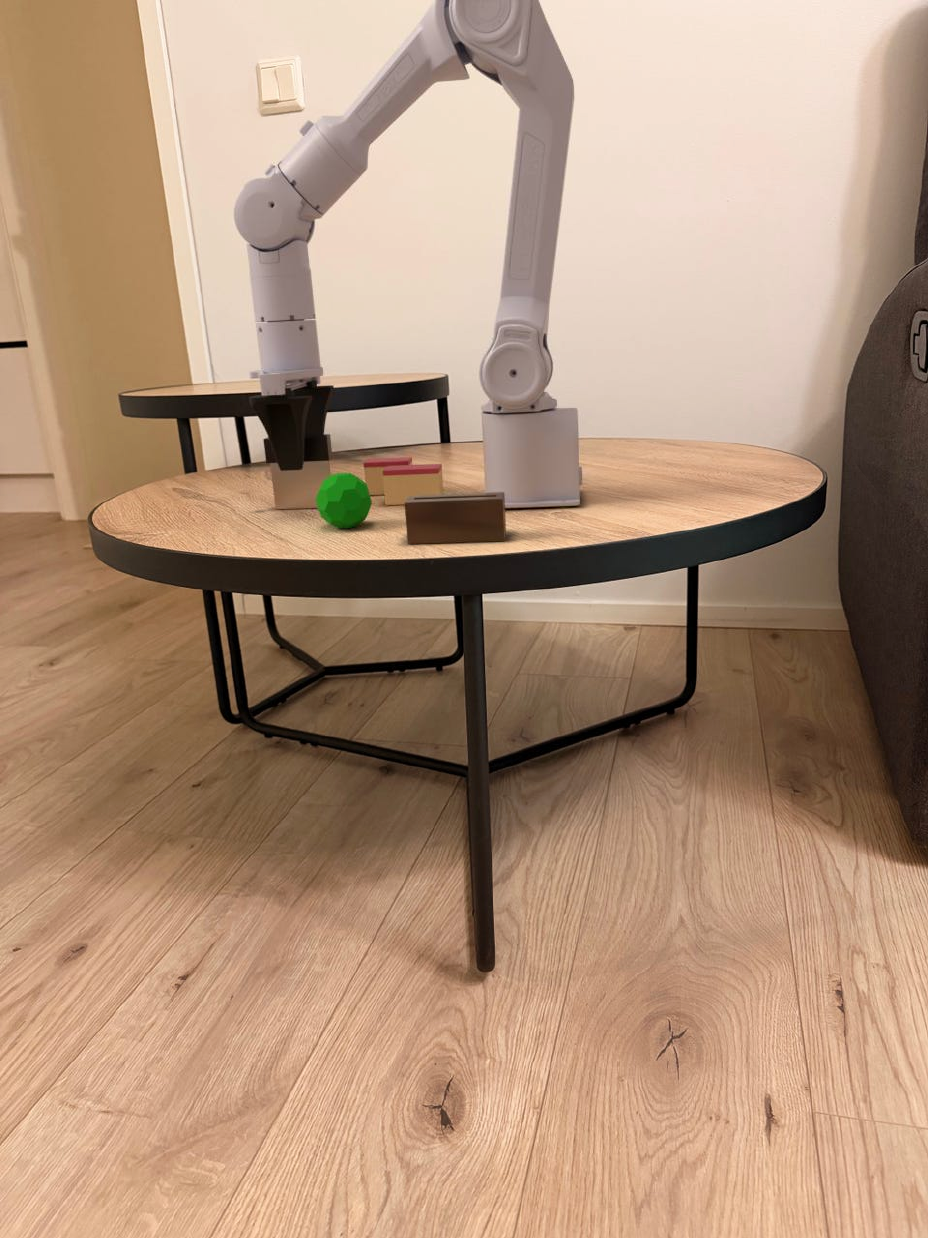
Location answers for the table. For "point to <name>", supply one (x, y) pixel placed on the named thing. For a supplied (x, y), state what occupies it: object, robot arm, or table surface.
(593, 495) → the table surface
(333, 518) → the polyhedron
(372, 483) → the cake slice
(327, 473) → the beige and brown block
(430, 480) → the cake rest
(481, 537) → the knife block
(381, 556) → the table surface
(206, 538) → the table surface
